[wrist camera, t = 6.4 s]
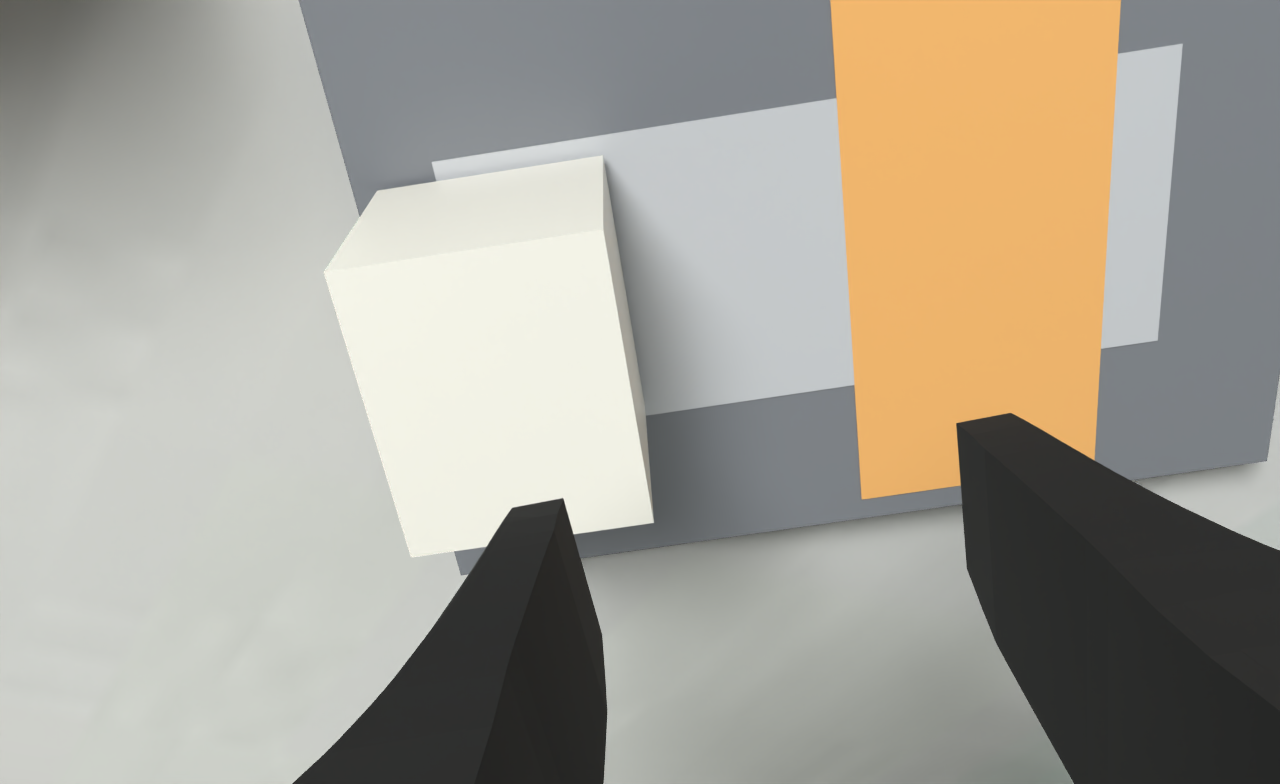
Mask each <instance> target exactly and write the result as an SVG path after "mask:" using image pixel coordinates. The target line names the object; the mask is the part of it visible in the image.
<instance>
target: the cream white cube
mask: <svg viewBox="0 0 1280 784" xmlns="http://www.w3.org/2000/svg"><path fill="white" fill-rule="evenodd" d="M324 275H325V278H326V282H327V285H328V288H329V291H330V295H331V298H332V301H333V305H334V308H335V311H336V314H337V318H338V321H339V324H340V327H341V331H342V334H343V337H344V340H345V344H346V347H347V350H348V353H349V357H350V360H351V363H352V367H353V370H354V373H355V376H356V380H357V383H358V386H359V389H360V393H361V396H362V399H363V402H364V406H365V409H366V412H367V415H368V419H369V422H370V425H371V428H372V432H373V435H374V438H375V442H376V445H377V448H378V451H379V455H380V458H381V461H382V464H383V468H384V471H385V474H386V477H387V481H388V484H389V487H390V490H391V494H392V497H393V500H394V504H395V507H396V510H397V513H398V517H399V520H400V523H401V526H402V530H403V533H404V536H405V539H406V543H407V546H408V549H409V552H410V556H411V557H418V556H425V555H432V554H439V553H446V552H453V551H460V550H467V549H474V548H481V547H486V546H487V545H488V543H489V542H490V540H491V539H492V537H493V535H494V534H495V532H496V531H497V529H498V527H499V526H500V524H501V523H502V521H503V520H504V518H505V517H506V516H507V514H508V513H509V511H510V510H511V509H512V508H513V507H519V506H524V505H529V504H534V503H540V502H545V501H550V500H555V499H561V498H563V499H564V502H565V506H566V509H567V513H568V516H569V520H570V524H571V527H572V531H573V534H579V533H586V532H593V531H600V530H607V529H614V528H622V527H629V526H636V525H643V524H650V523H654V517H653V504H652V491H651V478H650V465H649V452H648V439H647V426H646V413H645V404H644V398H643V392H642V386H641V380H640V374H639V368H638V362H637V356H636V350H635V344H634V338H633V332H632V326H631V320H630V314H629V308H628V302H627V296H626V290H625V284H624V278H623V272H622V266H621V260H620V254H619V248H618V242H617V236H616V230H615V224H614V218H613V212H612V206H611V200H610V194H609V188H608V182H607V177H606V171H605V165H604V159H603V155H601V156H595V157H588V158H582V159H576V160H569V161H563V162H557V163H550V164H544V165H537V166H531V167H525V168H518V169H512V170H506V171H499V172H493V173H487V174H480V175H474V176H467V177H461V178H455V179H448V180H442V181H436V182H429V183H423V184H416V185H410V186H404V187H397V188H391V189H385V190H378V191H377V192H376V193H375V195H374V196H373V198H372V199H371V201H370V202H369V204H368V205H367V207H366V208H365V210H364V211H363V213H362V215H361V216H360V218H359V219H358V221H357V222H356V224H355V225H354V227H353V228H352V230H351V231H350V233H349V234H348V236H347V238H346V239H345V241H344V242H343V244H342V245H341V247H340V248H339V250H338V251H337V253H336V254H335V256H334V257H333V259H332V260H331V262H330V264H329V265H328V267H327V268H326V270H325V271H324Z"/></svg>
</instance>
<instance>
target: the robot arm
mask: <svg viewBox="0 0 1280 784" xmlns="http://www.w3.org/2000/svg"><path fill="white" fill-rule="evenodd" d="M956 428H957V441H958V455H959V468H960V482H961V495H962V508H963V522H964V535H965V548H966V562H967V570H968V572H969V575H970V578H971V580H972V583H973V586H974V588H975V591H976V593H977V596H978V599H979V601H980V604H981V606H982V609H983V612H984V614H985V616H986V619H987V621H988V624H989V626H990V629H991V631H992V634H993V636H994V639H995V641H996V643H997V645H998V647H999V649H1000V651H1001V653H1002V655H1003V656H1004V658H1005V660H1006V662H1007V664H1008V666H1009V667H1010V669H1011V671H1012V673H1013V675H1014V677H1015V678H1016V680H1017V682H1018V684H1019V686H1020V687H1021V689H1022V691H1023V693H1024V695H1025V696H1026V698H1027V700H1028V702H1029V704H1030V705H1031V707H1032V709H1033V711H1034V713H1035V714H1036V716H1037V718H1038V720H1039V722H1040V723H1041V725H1042V727H1043V729H1044V730H1045V732H1046V734H1047V736H1048V738H1049V739H1050V741H1051V743H1052V745H1053V747H1054V748H1055V750H1056V752H1057V754H1058V755H1059V757H1060V759H1061V761H1062V763H1063V764H1064V766H1065V768H1066V770H1067V772H1068V773H1069V775H1070V777H1071V779H1072V780H1073V782H1074V784H1280V551H1279V550H1277V549H1274V548H1272V547H1269V546H1267V545H1264V544H1262V543H1259V542H1257V541H1255V540H1252V539H1250V538H1248V537H1245V536H1243V535H1241V534H1238V533H1236V532H1234V531H1232V530H1230V529H1227V528H1225V527H1223V526H1221V525H1219V524H1217V523H1215V522H1212V521H1210V520H1208V519H1206V518H1204V517H1202V516H1200V515H1198V514H1195V513H1193V512H1191V511H1189V510H1187V509H1185V508H1183V507H1181V506H1179V505H1177V504H1175V503H1173V502H1171V501H1169V500H1167V499H1165V498H1163V497H1161V496H1159V495H1157V494H1155V493H1153V492H1151V491H1149V490H1147V489H1146V488H1144V487H1142V486H1140V485H1138V484H1136V483H1134V482H1132V481H1131V480H1129V479H1127V478H1125V477H1123V476H1121V475H1120V474H1118V473H1116V472H1114V471H1112V470H1111V469H1109V468H1107V467H1105V466H1103V465H1102V464H1100V463H1098V462H1096V461H1095V460H1093V459H1091V458H1089V457H1088V456H1086V455H1084V454H1082V453H1081V452H1079V451H1077V450H1076V449H1074V448H1072V447H1070V446H1069V445H1067V444H1065V443H1063V442H1062V441H1060V440H1058V439H1057V438H1055V437H1053V436H1052V435H1050V434H1048V433H1046V432H1045V431H1043V430H1041V429H1040V428H1038V427H1036V426H1034V425H1033V424H1031V423H1029V422H1027V421H1025V420H1024V419H1022V418H1020V417H1018V416H1016V415H1014V414H1012V413H1007V414H1001V415H996V416H991V417H986V418H980V419H975V420H970V421H965V422H959V423H956ZM606 727H607V700H606V683H605V668H604V655H603V641H602V633H601V630H600V626H599V622H598V619H597V615H596V612H595V608H594V605H593V601H592V598H591V594H590V591H589V587H588V584H587V580H586V577H585V573H584V569H583V566H582V562H581V559H580V555H579V552H578V548H577V545H576V541H575V538H574V534H573V531H572V527H571V524H570V520H569V516H568V513H567V509H566V506H565V502H564V499H563V498H561V499H555V500H550V501H545V502H540V503H534V504H529V505H524V506H519V507H513V508H512V509H511V510H510V511H509V513H508V514H507V516H506V517H505V518H504V520H503V521H502V523H501V524H500V526H499V527H498V529H497V531H496V532H495V534H494V535H493V537H492V539H491V540H490V542H489V543H488V545H487V546H486V548H485V550H484V551H483V553H482V554H481V556H480V558H479V559H478V561H477V562H476V564H475V565H474V567H473V568H472V570H471V572H470V573H469V575H468V576H467V578H466V579H465V581H464V582H463V584H462V585H461V587H460V588H459V590H458V591H457V593H456V594H455V596H454V597H453V599H452V600H451V602H450V603H449V604H448V606H447V607H446V609H445V610H444V612H443V613H442V615H441V616H440V618H439V619H438V621H437V622H436V624H435V625H434V626H433V628H432V629H431V630H430V632H429V633H428V635H427V636H426V637H425V639H424V640H423V641H422V642H421V644H420V645H419V646H418V648H417V649H416V650H415V652H414V653H413V654H412V656H411V657H410V658H409V659H408V661H407V662H406V663H405V665H404V666H403V667H402V669H401V670H400V671H399V672H398V674H397V675H396V676H395V678H394V679H393V680H392V681H391V682H390V684H389V685H388V686H387V687H386V688H385V690H384V691H383V692H382V693H381V694H380V695H379V696H378V698H377V699H376V700H375V701H374V702H373V703H372V704H371V706H370V707H369V708H368V709H367V710H366V711H365V712H364V713H363V714H362V715H361V716H360V717H359V718H358V720H357V721H356V722H355V723H354V724H353V725H352V726H351V727H350V728H349V729H348V730H347V731H346V732H345V733H344V734H343V736H342V737H341V738H340V739H339V740H338V741H337V742H336V743H335V744H334V745H333V746H332V747H331V748H330V749H329V750H328V751H327V752H326V753H325V754H324V755H323V756H322V757H321V758H320V759H319V760H317V761H316V762H315V763H314V764H313V765H312V766H311V767H310V768H309V769H308V770H307V771H306V772H304V773H303V774H302V775H301V776H300V777H299V778H298V779H297V780H296V781H295V782H294V783H293V784H603V781H604V764H605V746H606Z"/></svg>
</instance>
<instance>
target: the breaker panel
mask: <svg viewBox="0 0 1280 784" xmlns="http://www.w3.org/2000/svg"><path fill="white" fill-rule="evenodd" d="M299 3H300V7H301V10H302V14H303V17H304V21H305V24H306V28H307V31H308V35H309V39H310V42H311V46H312V49H313V53H314V56H315V60H316V63H317V67H318V70H319V74H320V78H321V81H322V85H323V88H324V92H325V95H326V99H327V102H328V106H329V109H330V113H331V117H332V120H333V124H334V127H335V131H336V134H337V138H338V141H339V145H340V148H341V152H342V155H343V159H344V163H345V166H346V170H347V173H348V177H349V180H350V184H351V187H352V191H353V194H354V198H355V202H356V205H357V209H358V212H359V216H361V215H362V213H363V211H364V210H365V208H366V207H367V205H368V204H369V202H370V201H371V199H372V198H373V196H374V195H375V193H376V192H377V191H378V190H385V189H391V188H397V187H404V186H410V185H416V184H423V183H429V182H436V181H442V180H448V179H455V178H461V177H467V176H474V175H480V174H487V173H493V172H499V171H506V170H512V169H518V168H525V167H531V166H537V165H544V164H550V163H557V162H563V161H569V160H576V159H582V158H588V157H595V156H601V155H603V159H604V165H605V171H606V177H607V182H608V188H609V194H610V200H611V206H612V212H613V218H614V224H615V230H616V236H617V242H618V248H619V254H620V260H621V266H622V272H623V278H624V284H625V290H626V296H627V302H628V308H629V314H630V320H631V326H632V332H633V338H634V344H635V350H636V356H637V362H638V368H639V374H640V380H641V386H642V392H643V398H644V404H645V413H646V426H647V439H648V452H649V465H650V478H651V491H652V504H653V517H654V523H650V524H643V525H636V526H629V527H622V528H614V529H607V530H600V531H593V532H586V533H579V534H574V538H575V541H576V545H577V548H578V552H579V555H580V558H586V557H593V556H600V555H608V554H615V553H622V552H629V551H636V550H643V549H650V548H657V547H664V546H671V545H678V544H685V543H692V542H699V541H706V540H713V539H720V538H727V537H735V536H742V535H749V534H756V533H763V532H770V531H777V530H784V529H791V528H798V527H805V526H812V525H819V524H826V523H833V522H840V521H847V520H854V519H862V518H869V517H876V516H883V515H890V514H897V513H904V512H911V511H918V510H925V509H932V508H939V507H946V506H953V505H960V504H962V495H961V482H960V468H959V455H958V441H957V428H956V423H959V422H965V421H970V420H975V419H980V418H986V417H991V416H996V415H1001V414H1007V413H1012V414H1014V415H1016V416H1018V417H1020V418H1022V419H1024V420H1025V421H1027V422H1029V423H1031V424H1033V425H1034V426H1036V427H1038V428H1040V429H1041V430H1043V431H1045V432H1046V433H1048V434H1050V435H1052V436H1053V437H1055V438H1057V439H1058V440H1060V441H1062V442H1063V443H1065V444H1067V445H1069V446H1070V447H1072V448H1074V449H1076V450H1077V451H1079V452H1081V453H1082V454H1084V455H1086V456H1088V457H1089V458H1091V459H1093V460H1095V461H1096V462H1098V463H1100V464H1102V465H1103V466H1105V467H1107V468H1109V469H1111V470H1112V471H1114V472H1116V473H1118V474H1120V475H1121V476H1123V477H1125V478H1127V479H1129V480H1137V479H1144V478H1151V477H1158V476H1165V475H1172V474H1179V473H1186V472H1193V471H1200V470H1207V469H1214V468H1221V467H1228V466H1235V465H1242V464H1250V463H1257V462H1264V461H1267V457H1268V450H1269V443H1270V436H1271V430H1272V423H1273V416H1274V409H1275V402H1276V395H1277V388H1278V381H1279V375H1280V0H299ZM485 548H486V547H481V548H474V549H467V550H460V551H454V552H455V556H456V559H457V563H458V566H459V570H460V573H461V575H466V574H469V573H470V572H471V570H472V568H473V567H474V565H475V564H476V562H477V561H478V559H479V558H480V556H481V554H482V553H483V551H484V550H485Z"/></svg>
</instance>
